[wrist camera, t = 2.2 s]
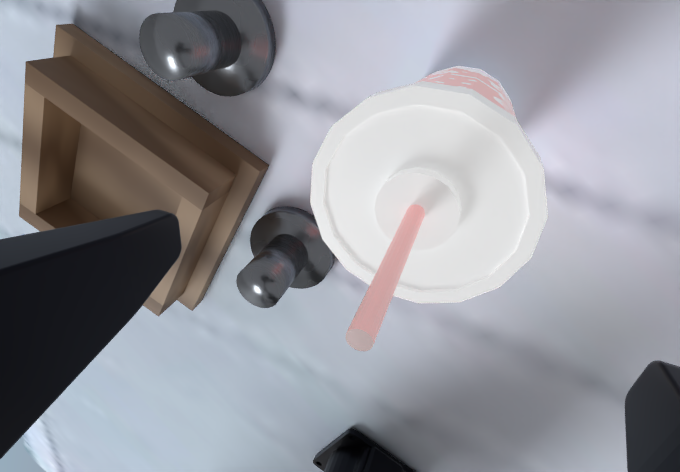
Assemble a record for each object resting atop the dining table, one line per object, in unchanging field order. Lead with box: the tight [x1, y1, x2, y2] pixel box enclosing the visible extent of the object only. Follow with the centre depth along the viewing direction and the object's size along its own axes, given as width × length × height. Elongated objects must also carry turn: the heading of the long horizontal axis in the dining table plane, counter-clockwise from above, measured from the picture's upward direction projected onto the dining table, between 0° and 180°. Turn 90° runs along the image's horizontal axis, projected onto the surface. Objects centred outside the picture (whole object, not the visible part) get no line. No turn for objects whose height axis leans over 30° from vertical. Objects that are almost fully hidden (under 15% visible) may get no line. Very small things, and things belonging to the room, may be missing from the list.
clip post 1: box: [139, 0, 275, 96], centre depth 18 cm, size 5×5×4 cm
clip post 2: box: [237, 207, 335, 308], centre depth 23 cm, size 5×5×4 cm
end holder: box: [19, 24, 269, 316], centre depth 25 cm, size 13×13×4 cm
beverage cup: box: [310, 66, 548, 351], centre depth 12 cm, size 6×6×14 cm
